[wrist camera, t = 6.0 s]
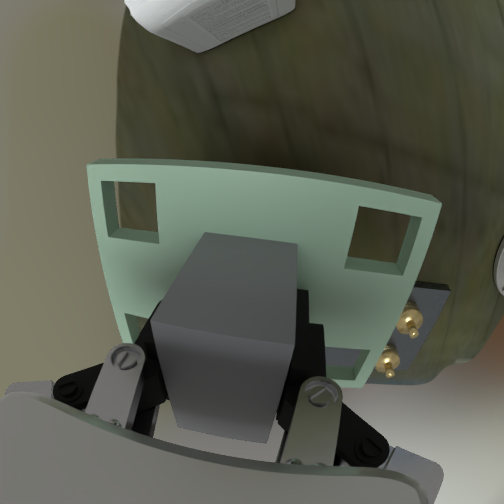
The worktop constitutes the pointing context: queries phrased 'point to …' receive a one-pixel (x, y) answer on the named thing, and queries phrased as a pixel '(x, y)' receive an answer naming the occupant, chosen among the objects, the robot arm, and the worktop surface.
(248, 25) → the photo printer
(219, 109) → the worktop surface
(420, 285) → the plate
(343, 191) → the board
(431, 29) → the worktop surface
